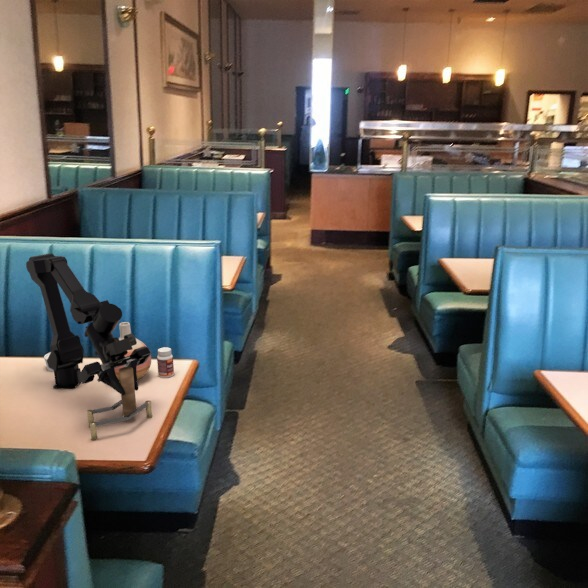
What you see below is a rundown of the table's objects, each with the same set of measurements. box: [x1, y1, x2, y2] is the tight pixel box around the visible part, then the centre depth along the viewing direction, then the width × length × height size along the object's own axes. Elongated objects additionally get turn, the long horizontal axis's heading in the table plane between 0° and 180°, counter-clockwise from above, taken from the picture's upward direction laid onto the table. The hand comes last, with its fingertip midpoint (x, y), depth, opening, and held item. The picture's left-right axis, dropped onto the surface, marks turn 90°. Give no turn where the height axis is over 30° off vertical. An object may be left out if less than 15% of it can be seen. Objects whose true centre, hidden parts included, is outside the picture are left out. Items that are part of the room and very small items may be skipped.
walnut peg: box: [119, 367, 137, 417], centre depth 161 cm, size 4×4×12 cm
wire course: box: [86, 399, 153, 441], centre depth 160 cm, size 15×16×4 cm
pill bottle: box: [156, 346, 175, 379], centre depth 190 cm, size 5×5×8 cm
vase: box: [114, 321, 152, 382], centre depth 186 cm, size 14×14×18 cm
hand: (130, 392), depth 160 cm, fingers closed on walnut peg, 3 cm apart
